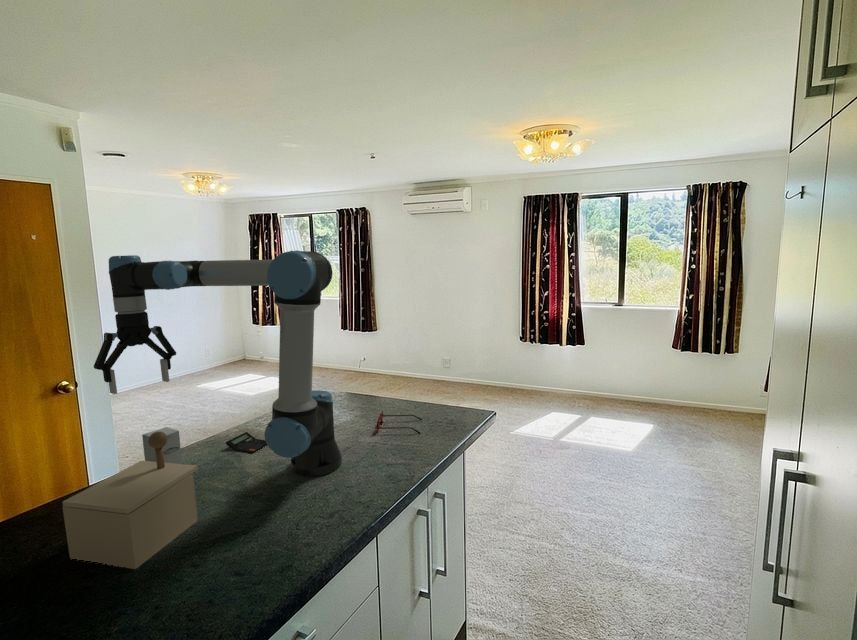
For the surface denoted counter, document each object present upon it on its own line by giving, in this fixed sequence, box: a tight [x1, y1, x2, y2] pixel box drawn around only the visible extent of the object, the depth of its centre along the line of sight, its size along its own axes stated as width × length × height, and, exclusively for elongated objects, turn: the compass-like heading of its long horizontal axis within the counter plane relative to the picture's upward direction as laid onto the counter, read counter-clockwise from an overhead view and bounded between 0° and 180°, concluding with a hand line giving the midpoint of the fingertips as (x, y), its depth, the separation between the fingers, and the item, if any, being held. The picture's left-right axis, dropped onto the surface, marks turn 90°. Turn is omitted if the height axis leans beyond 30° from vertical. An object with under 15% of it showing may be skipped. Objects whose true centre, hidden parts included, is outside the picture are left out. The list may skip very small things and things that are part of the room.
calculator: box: [225, 431, 268, 454], centre depth 157 cm, size 9×12×3 cm
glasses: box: [374, 410, 423, 435], centre depth 170 cm, size 14×16×5 cm
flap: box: [62, 432, 199, 514], centre depth 104 cm, size 17×20×10 cm
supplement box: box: [141, 426, 183, 464], centre depth 138 cm, size 7×7×13 cm
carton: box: [62, 473, 198, 570], centre depth 105 cm, size 17×18×12 cm
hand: (140, 387), depth 129 cm, fingers open, 13 cm apart
